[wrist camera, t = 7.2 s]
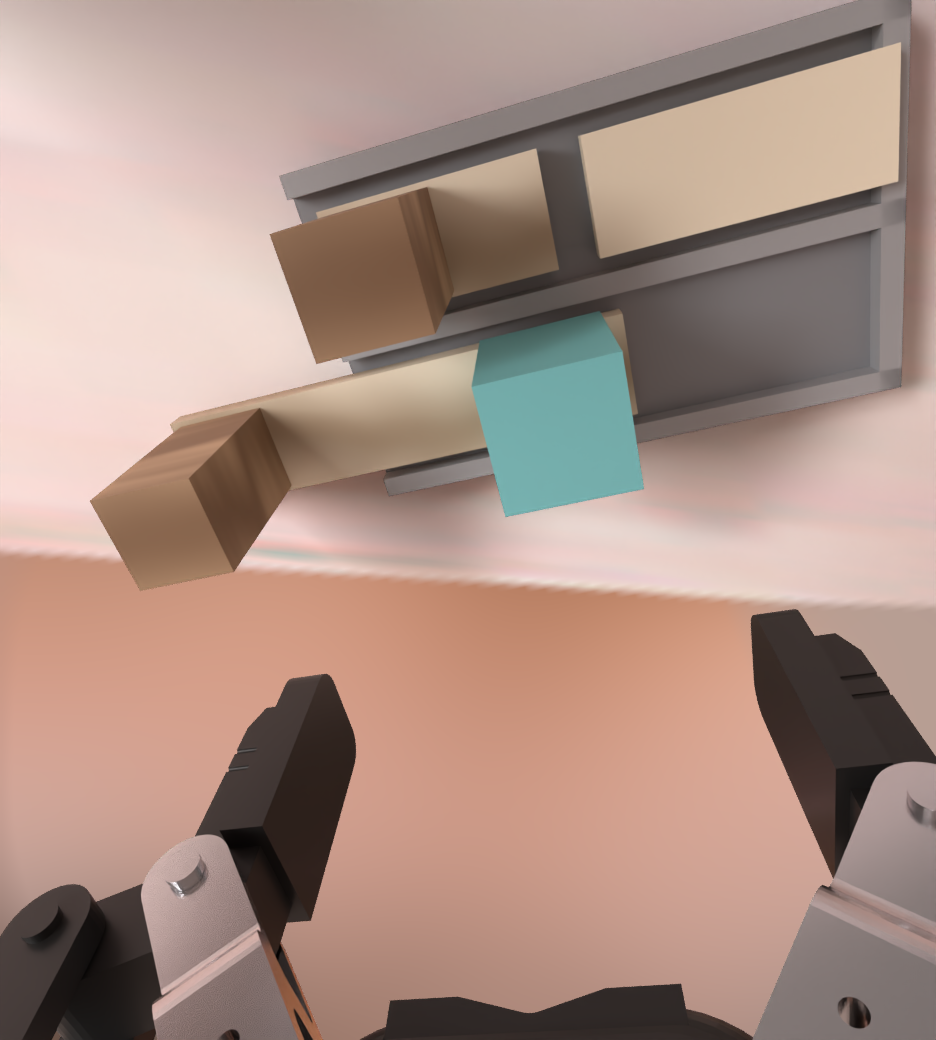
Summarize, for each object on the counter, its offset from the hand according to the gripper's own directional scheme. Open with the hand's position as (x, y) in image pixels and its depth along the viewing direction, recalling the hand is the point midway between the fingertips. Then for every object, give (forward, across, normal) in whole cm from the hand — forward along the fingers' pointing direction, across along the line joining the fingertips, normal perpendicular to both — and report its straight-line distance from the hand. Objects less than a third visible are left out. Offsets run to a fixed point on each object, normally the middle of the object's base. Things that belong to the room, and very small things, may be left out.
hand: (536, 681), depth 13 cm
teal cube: (+16, -1, -1) cm, 16 cm away
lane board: (+19, -4, -4) cm, 19 cm away
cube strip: (+17, +5, -1) cm, 18 cm away
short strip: (+17, +2, -7) cm, 19 cm away
